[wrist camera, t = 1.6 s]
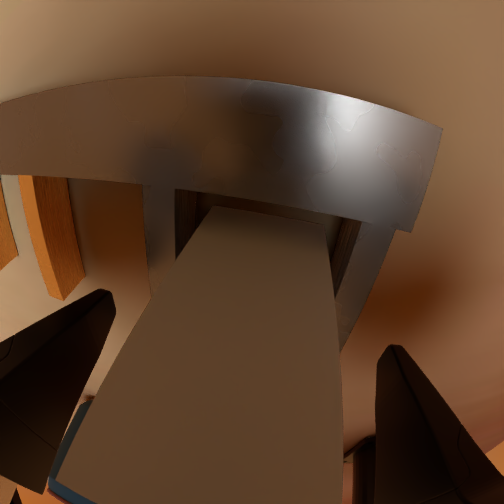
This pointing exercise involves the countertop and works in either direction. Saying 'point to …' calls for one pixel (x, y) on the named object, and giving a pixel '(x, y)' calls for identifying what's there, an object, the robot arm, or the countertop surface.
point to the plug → (224, 378)
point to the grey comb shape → (216, 167)
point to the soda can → (70, 498)
